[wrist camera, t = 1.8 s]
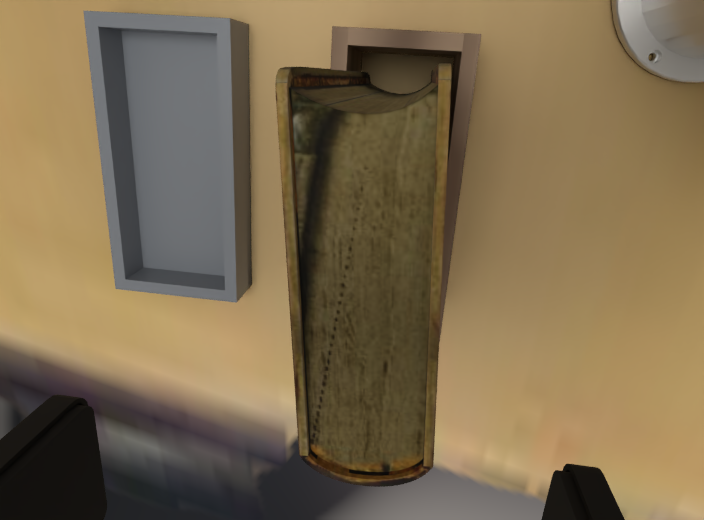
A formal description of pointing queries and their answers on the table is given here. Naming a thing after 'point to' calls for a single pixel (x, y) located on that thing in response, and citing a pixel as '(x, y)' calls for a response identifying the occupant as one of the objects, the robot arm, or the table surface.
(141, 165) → the tray
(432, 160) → the book
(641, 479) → the table surface
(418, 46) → the frame
